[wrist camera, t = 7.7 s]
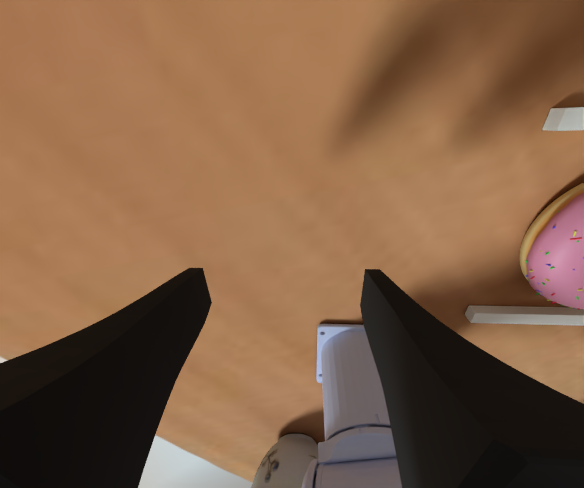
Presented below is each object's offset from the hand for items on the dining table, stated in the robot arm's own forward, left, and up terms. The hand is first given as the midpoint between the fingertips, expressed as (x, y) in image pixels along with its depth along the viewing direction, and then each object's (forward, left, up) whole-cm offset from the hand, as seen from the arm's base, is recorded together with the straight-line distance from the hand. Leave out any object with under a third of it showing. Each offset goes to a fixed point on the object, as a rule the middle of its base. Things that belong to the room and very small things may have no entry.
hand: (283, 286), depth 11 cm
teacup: (-39, 0, -10) cm, 40 cm away
